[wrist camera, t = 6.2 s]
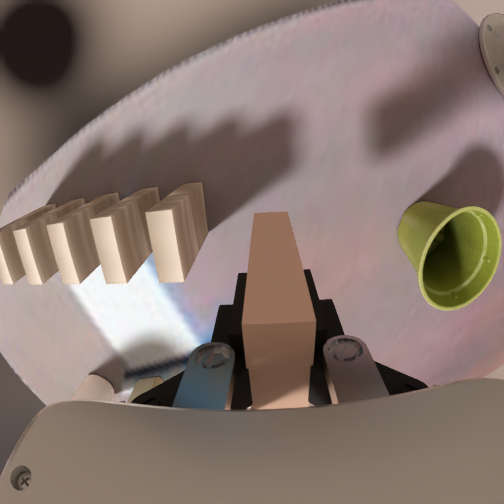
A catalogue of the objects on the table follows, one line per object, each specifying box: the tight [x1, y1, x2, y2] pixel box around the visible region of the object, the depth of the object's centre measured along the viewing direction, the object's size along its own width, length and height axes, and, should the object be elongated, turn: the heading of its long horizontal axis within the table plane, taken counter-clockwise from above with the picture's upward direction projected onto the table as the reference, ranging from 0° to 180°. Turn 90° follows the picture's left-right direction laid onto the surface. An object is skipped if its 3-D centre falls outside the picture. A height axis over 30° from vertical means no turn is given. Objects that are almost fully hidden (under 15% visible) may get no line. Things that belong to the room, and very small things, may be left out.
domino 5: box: [145, 182, 209, 283], centre depth 24 cm, size 2×5×10 cm, turn 4°
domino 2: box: [13, 198, 86, 284], centre depth 24 cm, size 2×5×10 cm, turn 4°
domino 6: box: [242, 212, 316, 410], centre depth 13 cm, size 2×5×10 cm, turn 4°
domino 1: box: [0, 203, 57, 284], centre depth 25 cm, size 2×5×10 cm, turn 4°
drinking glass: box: [71, 375, 114, 401], centre depth 32 cm, size 7×7×15 cm
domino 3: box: [46, 192, 120, 284], centre depth 24 cm, size 2×5×10 cm, turn 4°
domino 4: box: [90, 187, 160, 284], centre depth 24 cm, size 2×5×10 cm, turn 4°
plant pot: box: [398, 201, 501, 310], centre depth 24 cm, size 9×9×9 cm
